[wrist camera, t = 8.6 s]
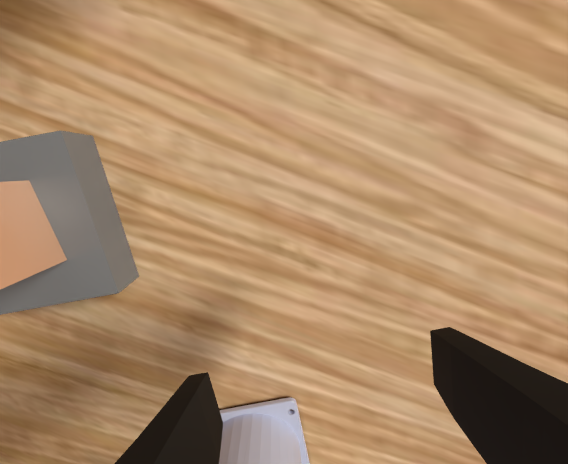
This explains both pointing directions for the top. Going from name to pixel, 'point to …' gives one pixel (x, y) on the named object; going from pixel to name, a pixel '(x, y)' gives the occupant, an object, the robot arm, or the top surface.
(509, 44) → the top surface
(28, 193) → the terracotta block
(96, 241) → the plate
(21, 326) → the top surface
